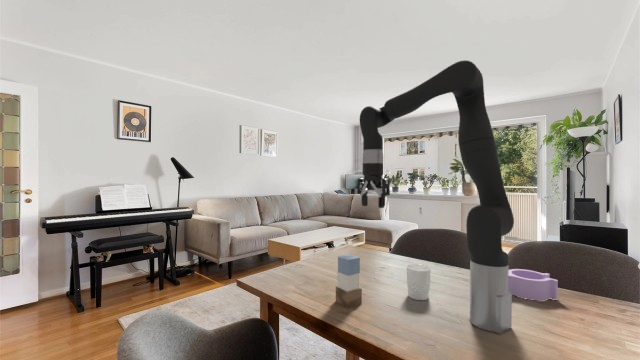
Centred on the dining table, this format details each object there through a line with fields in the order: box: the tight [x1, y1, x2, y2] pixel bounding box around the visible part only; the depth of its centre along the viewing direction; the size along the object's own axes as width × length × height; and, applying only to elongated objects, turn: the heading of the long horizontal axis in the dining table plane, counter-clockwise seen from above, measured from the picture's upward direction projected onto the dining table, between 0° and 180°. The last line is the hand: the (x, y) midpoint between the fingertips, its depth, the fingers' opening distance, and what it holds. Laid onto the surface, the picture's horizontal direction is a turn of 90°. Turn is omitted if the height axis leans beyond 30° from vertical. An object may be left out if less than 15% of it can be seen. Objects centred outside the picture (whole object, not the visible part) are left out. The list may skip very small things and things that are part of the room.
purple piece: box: [508, 268, 559, 300], centre depth 104 cm, size 20×12×7 cm, turn 71°
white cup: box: [406, 263, 432, 301], centre depth 101 cm, size 8×8×10 cm
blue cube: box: [337, 254, 361, 276], centre depth 96 cm, size 5×5×5 cm
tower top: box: [336, 271, 360, 292], centre depth 96 cm, size 5×5×5 cm
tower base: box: [335, 285, 363, 309], centre depth 96 cm, size 6×6×5 cm
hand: (372, 206), depth 108 cm, fingers open, 8 cm apart
